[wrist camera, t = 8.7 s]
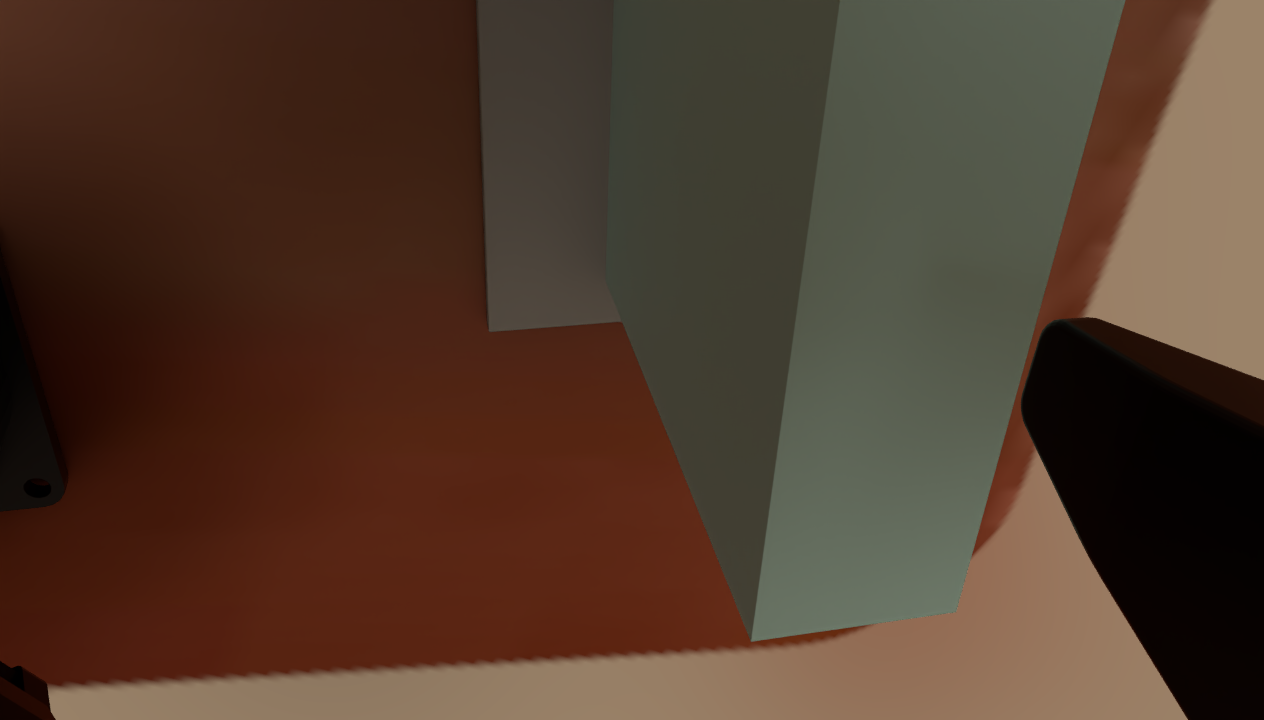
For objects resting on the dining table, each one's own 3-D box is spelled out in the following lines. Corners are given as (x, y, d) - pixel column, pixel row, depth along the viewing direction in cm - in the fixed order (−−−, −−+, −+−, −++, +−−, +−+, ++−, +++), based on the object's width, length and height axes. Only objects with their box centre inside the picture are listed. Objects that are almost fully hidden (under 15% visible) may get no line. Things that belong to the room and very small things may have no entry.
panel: (744, 271, 24) (955, 612, 16) (605, 280, 23) (751, 641, 15) (800, -267, 18) (1172, -173, 10) (621, -273, 18) (865, -177, 10)
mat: (843, 294, 25) (850, 303, 25) (486, 322, 24) (488, 332, 23) (947, -332, 19) (958, -331, 18) (463, -354, 17) (466, -354, 17)
